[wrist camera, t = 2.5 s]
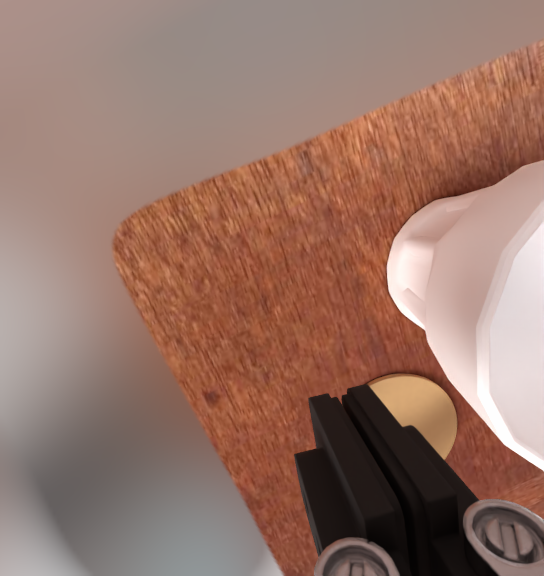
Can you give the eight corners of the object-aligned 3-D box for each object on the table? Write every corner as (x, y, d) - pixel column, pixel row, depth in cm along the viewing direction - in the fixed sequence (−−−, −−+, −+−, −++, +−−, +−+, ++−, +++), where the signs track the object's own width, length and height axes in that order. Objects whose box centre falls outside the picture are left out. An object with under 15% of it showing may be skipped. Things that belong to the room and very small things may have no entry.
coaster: (305, 425, 24) (306, 429, 24) (416, 347, 24) (419, 350, 23) (372, 508, 27) (374, 513, 26) (474, 438, 26) (478, 442, 26)
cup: (347, 360, 23) (451, 496, 13) (363, 156, 20) (516, 109, 10) (521, 354, 25) (742, 469, 14) (558, 164, 22) (872, 132, 11)
